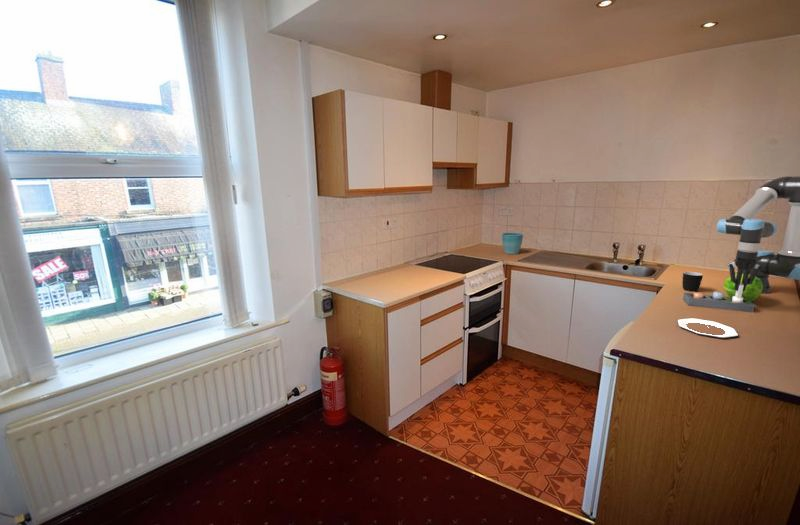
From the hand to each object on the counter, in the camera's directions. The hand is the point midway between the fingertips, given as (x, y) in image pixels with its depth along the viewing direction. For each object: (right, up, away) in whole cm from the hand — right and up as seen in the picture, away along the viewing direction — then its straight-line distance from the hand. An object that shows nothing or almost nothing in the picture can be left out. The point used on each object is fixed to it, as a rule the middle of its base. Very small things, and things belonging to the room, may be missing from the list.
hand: (738, 296), depth 185 cm
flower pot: (-72, +25, +141) cm, 160 cm away
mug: (+1, +1, +32) cm, 32 cm away
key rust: (-15, -3, +7) cm, 16 cm away
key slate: (-7, -2, +4) cm, 8 cm away
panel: (-7, -5, +4) cm, 10 cm away
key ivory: (0, -4, +1) cm, 4 cm away
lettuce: (+13, -3, +13) cm, 19 cm away
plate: (-37, -13, -24) cm, 46 cm away
